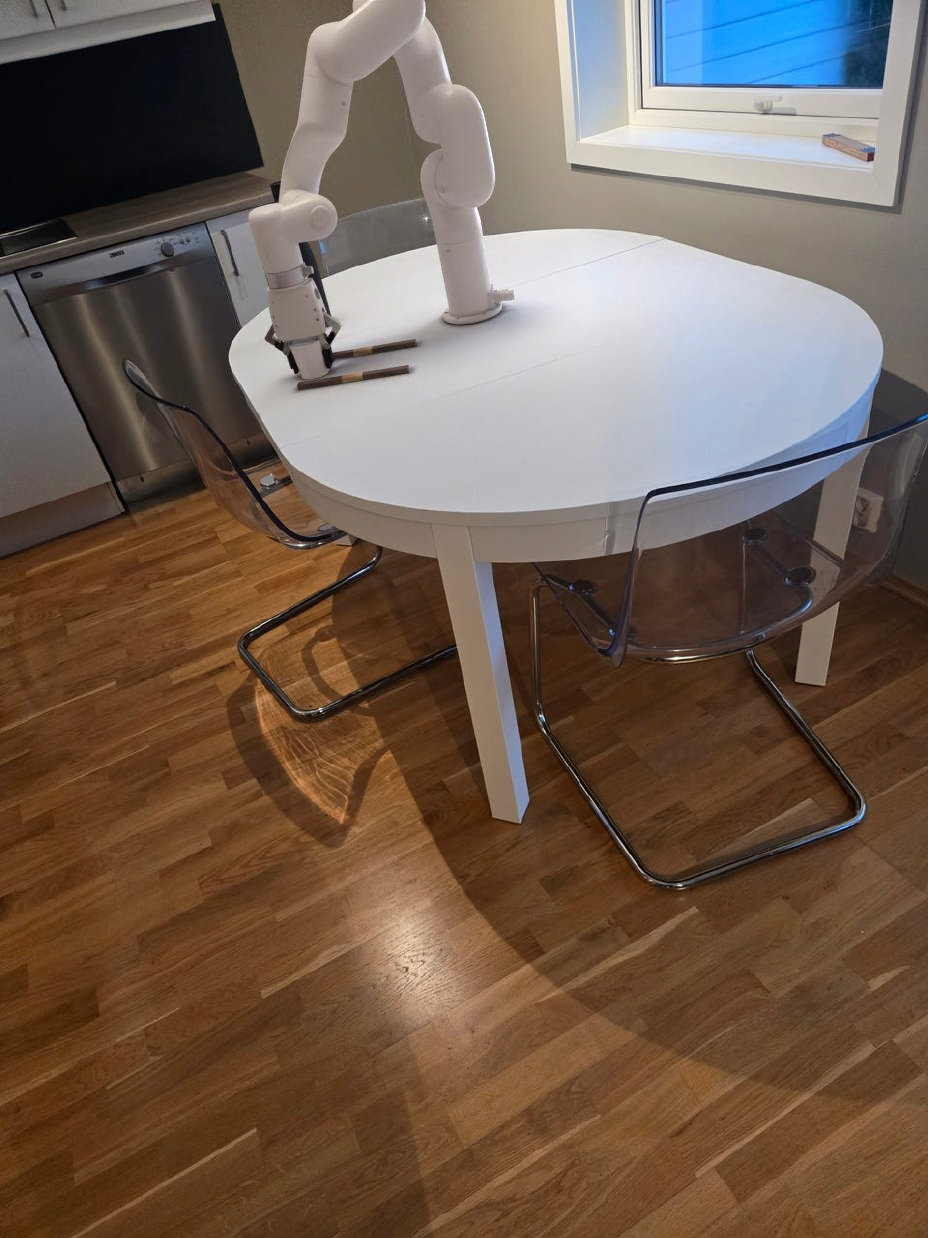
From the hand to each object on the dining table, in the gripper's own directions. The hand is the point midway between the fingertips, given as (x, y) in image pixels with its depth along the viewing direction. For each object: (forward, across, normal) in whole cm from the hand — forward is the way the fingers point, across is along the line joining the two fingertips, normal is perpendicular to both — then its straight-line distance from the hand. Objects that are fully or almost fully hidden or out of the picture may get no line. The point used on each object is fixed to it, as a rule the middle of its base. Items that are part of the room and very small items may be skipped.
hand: (313, 368), depth 174 cm
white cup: (+1, 0, 0) cm, 1 cm away
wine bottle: (+1, +5, -30) cm, 30 cm away
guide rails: (+1, -9, 0) cm, 9 cm away
